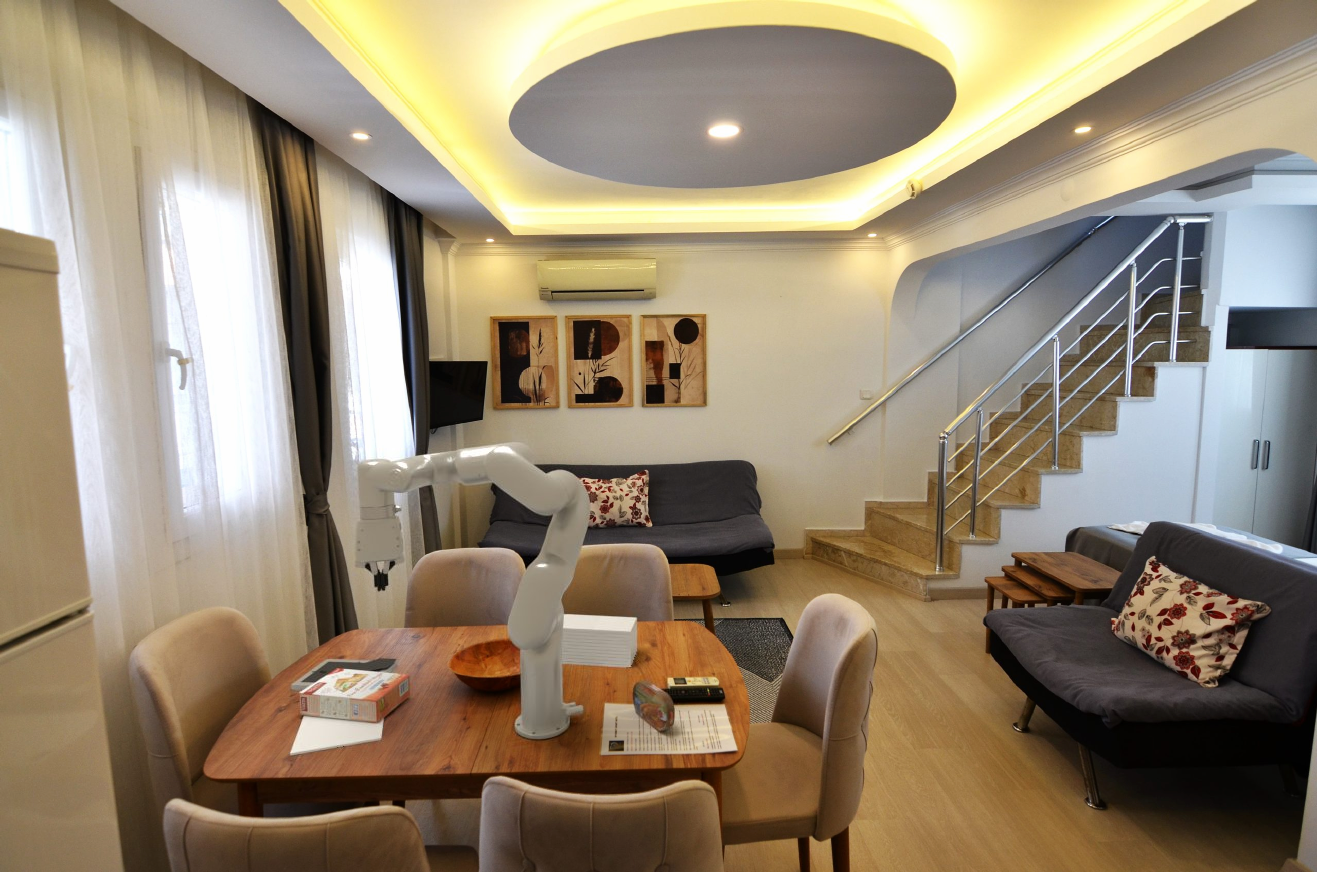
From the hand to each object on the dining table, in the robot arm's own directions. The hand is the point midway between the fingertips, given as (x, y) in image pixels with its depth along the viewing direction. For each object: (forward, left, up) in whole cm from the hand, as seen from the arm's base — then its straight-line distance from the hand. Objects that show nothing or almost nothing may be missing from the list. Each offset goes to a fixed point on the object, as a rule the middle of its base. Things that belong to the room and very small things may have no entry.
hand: (381, 589), depth 152 cm
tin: (-59, +23, -32) cm, 71 cm away
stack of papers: (-51, -18, -32) cm, 63 cm away
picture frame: (+12, -26, -32) cm, 43 cm away
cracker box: (-2, -2, -28) cm, 28 cm away
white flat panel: (+10, -1, -31) cm, 33 cm away
